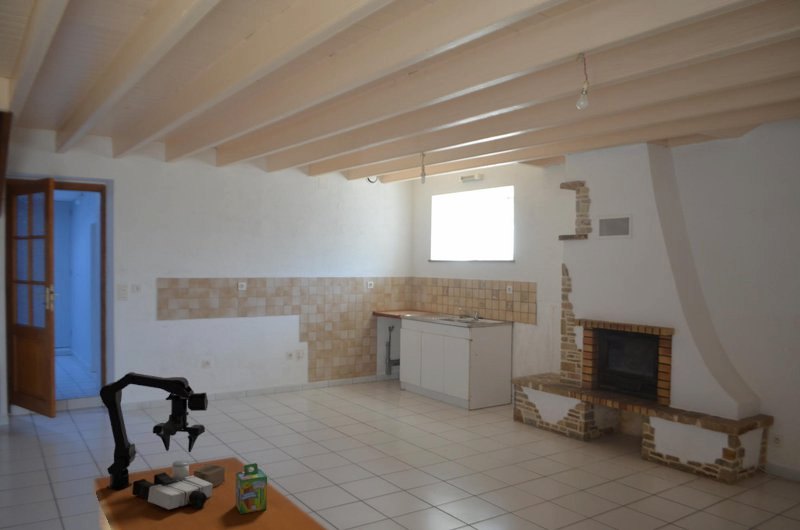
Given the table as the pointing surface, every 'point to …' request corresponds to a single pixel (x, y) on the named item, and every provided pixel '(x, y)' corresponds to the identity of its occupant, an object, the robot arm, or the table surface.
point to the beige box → (211, 474)
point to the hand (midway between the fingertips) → (178, 451)
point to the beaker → (180, 469)
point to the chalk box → (251, 490)
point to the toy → (174, 491)
